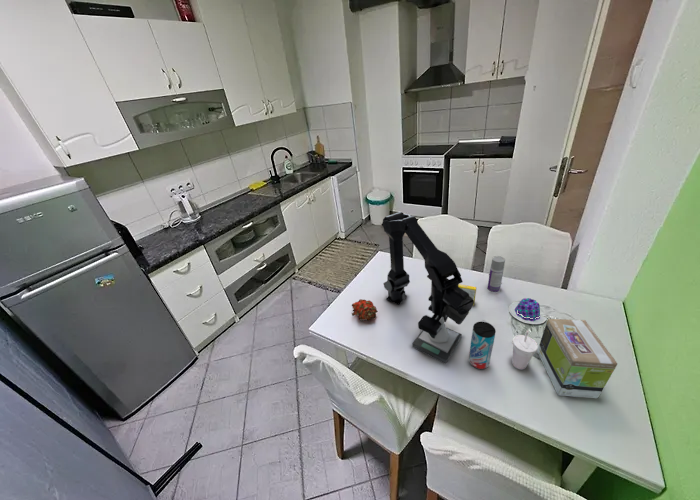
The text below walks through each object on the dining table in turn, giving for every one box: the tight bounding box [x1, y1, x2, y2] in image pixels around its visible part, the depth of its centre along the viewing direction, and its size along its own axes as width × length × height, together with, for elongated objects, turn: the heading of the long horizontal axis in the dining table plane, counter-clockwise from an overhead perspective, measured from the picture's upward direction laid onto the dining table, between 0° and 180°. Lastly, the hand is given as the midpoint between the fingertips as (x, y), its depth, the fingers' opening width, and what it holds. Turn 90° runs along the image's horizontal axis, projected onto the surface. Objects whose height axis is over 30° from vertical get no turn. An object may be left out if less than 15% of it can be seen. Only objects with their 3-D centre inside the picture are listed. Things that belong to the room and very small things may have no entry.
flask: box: [428, 317, 449, 343], centre depth 93 cm, size 7×7×10 cm
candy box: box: [458, 283, 477, 307], centre depth 111 cm, size 16×2×8 cm, turn 63°
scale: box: [411, 326, 463, 365], centre depth 96 cm, size 12×13×2 cm
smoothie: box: [511, 330, 539, 370], centre depth 82 cm, size 6×6×14 cm
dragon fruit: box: [351, 298, 379, 322], centre depth 110 cm, size 8×8×12 cm
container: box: [487, 255, 506, 293], centre depth 111 cm, size 5×5×15 cm
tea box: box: [536, 318, 618, 399], centre depth 77 cm, size 15×10×15 cm, turn 170°
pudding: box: [508, 297, 548, 325], centre depth 101 cm, size 12×12×5 cm
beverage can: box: [468, 321, 497, 370], centre depth 84 cm, size 6×6×15 cm
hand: (438, 329), depth 94 cm, fingers open, 8 cm apart
